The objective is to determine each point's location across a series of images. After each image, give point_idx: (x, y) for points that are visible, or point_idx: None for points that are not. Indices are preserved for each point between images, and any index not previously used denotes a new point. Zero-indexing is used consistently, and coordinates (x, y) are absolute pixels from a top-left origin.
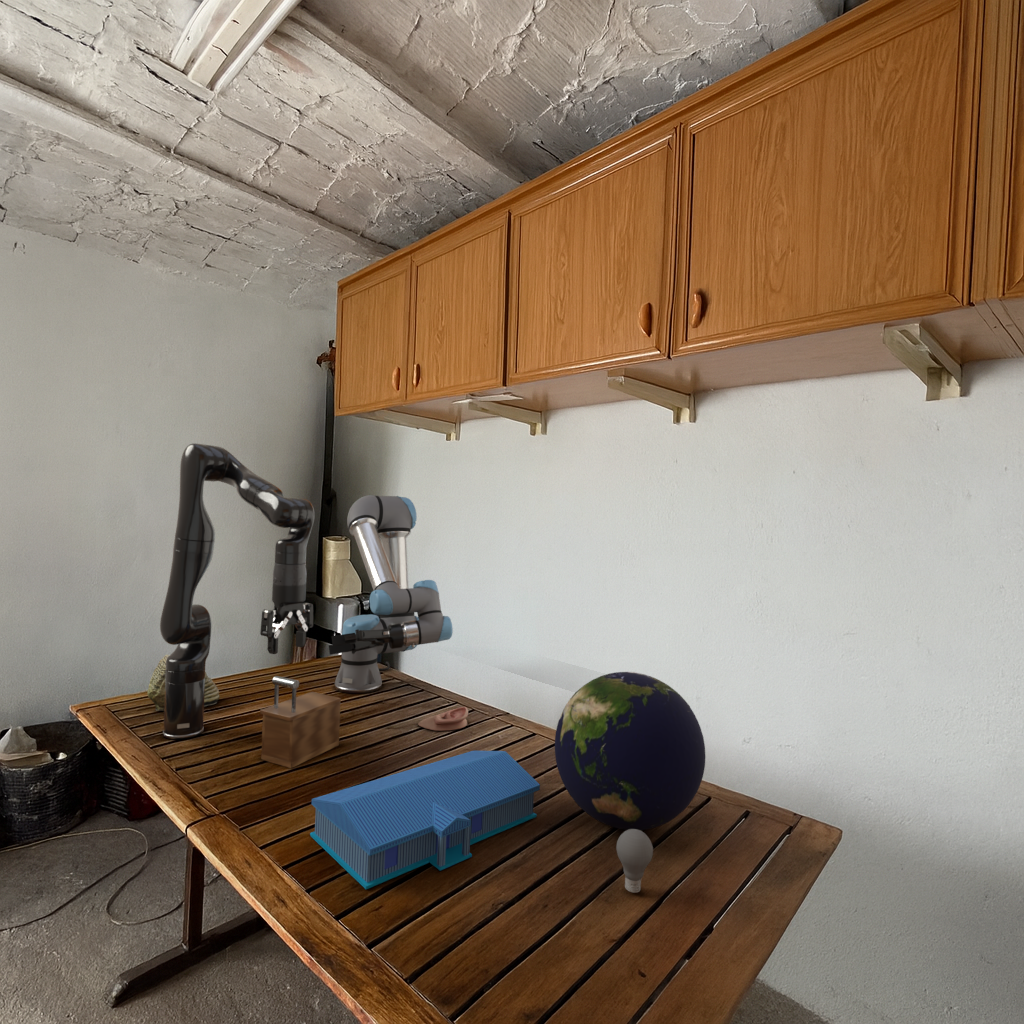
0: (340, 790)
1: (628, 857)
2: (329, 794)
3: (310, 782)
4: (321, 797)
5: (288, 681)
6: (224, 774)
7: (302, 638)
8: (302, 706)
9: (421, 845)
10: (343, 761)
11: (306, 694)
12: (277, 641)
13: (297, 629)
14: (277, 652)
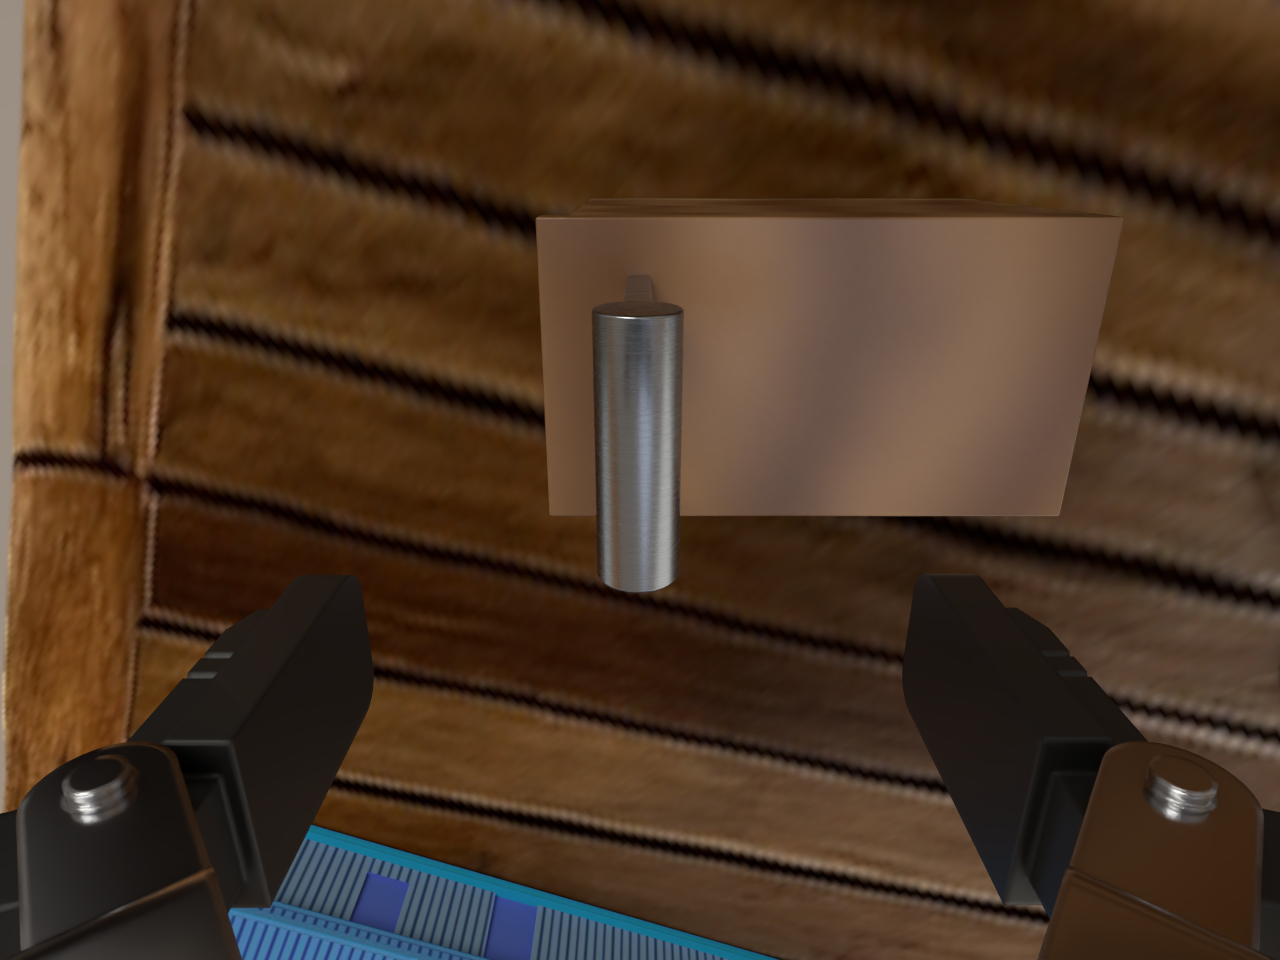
0: (329, 936)
1: None
2: (275, 935)
3: (539, 573)
4: (235, 936)
5: (604, 525)
6: (359, 186)
7: (955, 792)
8: (767, 426)
9: None
10: (778, 550)
11: (1031, 237)
12: (283, 849)
13: (1103, 767)
14: (367, 704)
